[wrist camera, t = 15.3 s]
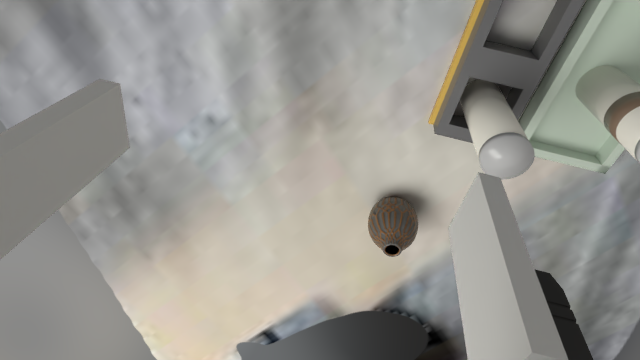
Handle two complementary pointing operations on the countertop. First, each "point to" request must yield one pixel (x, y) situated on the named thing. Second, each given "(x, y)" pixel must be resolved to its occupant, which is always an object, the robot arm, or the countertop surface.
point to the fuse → (495, 131)
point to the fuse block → (498, 63)
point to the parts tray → (563, 75)
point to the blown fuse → (613, 104)
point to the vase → (392, 225)
